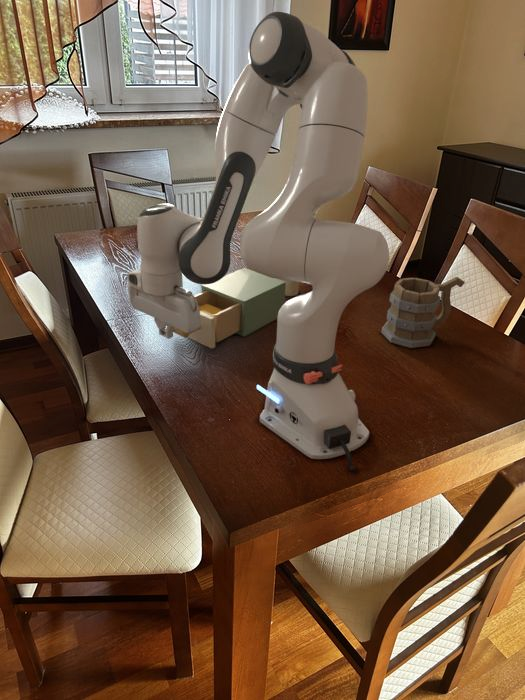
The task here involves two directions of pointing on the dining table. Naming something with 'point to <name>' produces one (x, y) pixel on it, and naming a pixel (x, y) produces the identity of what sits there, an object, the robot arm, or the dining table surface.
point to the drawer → (215, 320)
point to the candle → (291, 287)
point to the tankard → (417, 311)
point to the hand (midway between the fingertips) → (166, 336)
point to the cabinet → (251, 297)
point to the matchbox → (209, 309)
